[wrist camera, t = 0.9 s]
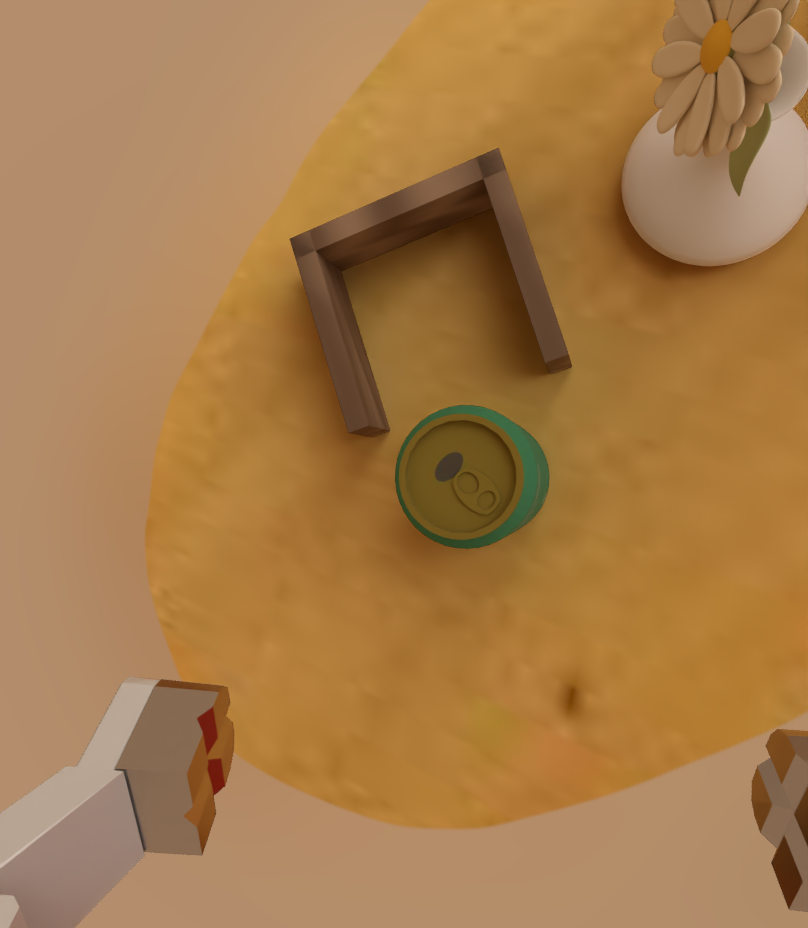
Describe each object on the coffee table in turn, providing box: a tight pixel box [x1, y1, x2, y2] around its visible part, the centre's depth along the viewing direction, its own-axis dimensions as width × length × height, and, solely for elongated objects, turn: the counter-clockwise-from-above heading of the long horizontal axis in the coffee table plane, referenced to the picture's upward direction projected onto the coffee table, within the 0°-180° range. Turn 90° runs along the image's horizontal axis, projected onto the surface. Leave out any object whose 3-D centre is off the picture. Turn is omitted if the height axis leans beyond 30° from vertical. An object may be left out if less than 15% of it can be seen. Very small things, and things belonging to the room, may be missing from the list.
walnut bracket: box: [290, 148, 572, 437], centre depth 50 cm, size 15×14×5 cm
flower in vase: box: [621, 0, 808, 266], centre depth 36 cm, size 13×11×25 cm
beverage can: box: [395, 405, 549, 549], centre depth 45 cm, size 8×8×12 cm
